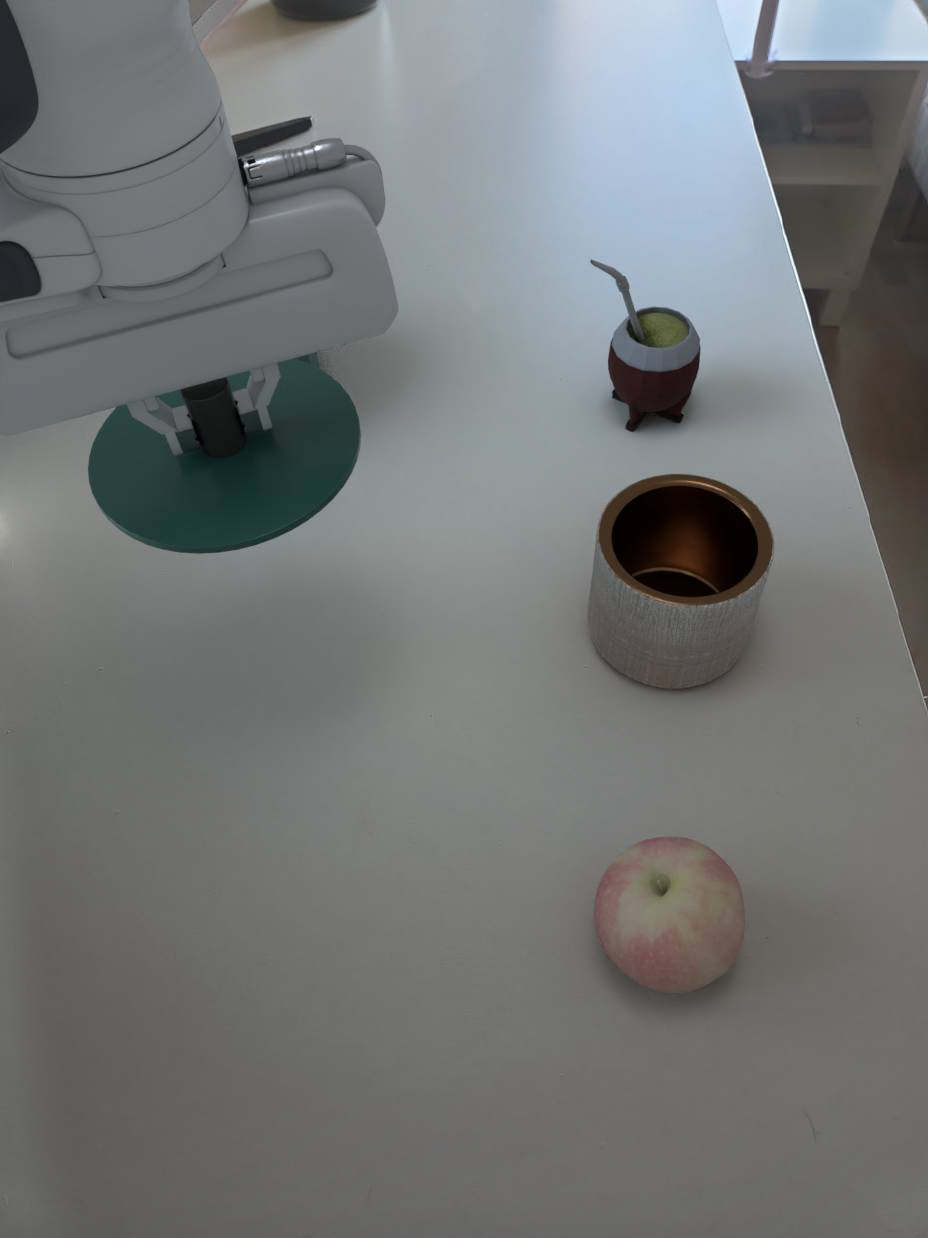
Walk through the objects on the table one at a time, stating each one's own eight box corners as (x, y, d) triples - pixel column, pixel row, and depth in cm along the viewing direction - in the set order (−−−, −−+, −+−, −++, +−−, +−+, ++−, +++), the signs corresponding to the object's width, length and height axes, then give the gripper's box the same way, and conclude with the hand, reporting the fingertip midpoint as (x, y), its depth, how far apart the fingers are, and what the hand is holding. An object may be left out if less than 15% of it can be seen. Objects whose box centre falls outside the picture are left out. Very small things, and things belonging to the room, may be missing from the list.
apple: (678, 848, 57) (698, 790, 51) (760, 963, 53) (793, 916, 47) (564, 913, 55) (570, 861, 49) (640, 1037, 51) (657, 999, 45)
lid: (114, 597, 47) (73, 528, 42) (80, 407, 55) (43, 334, 50) (396, 511, 49) (384, 438, 45) (324, 341, 57) (308, 266, 53)
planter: (760, 691, 63) (793, 605, 55) (593, 696, 63) (603, 612, 56) (732, 561, 69) (758, 467, 61) (580, 567, 70) (587, 474, 62)
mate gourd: (704, 396, 79) (737, 232, 67) (661, 456, 76) (687, 293, 63) (624, 366, 82) (641, 202, 70) (578, 422, 78) (588, 260, 66)
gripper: (355, 93, 42) (392, 346, 54) (-123, 205, 39) (23, 448, 51) (398, 164, 39) (427, 419, 50) (-124, 292, 36) (33, 533, 47)
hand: (221, 434), depth 50 cm, fingers closed on lid, 2 cm apart
